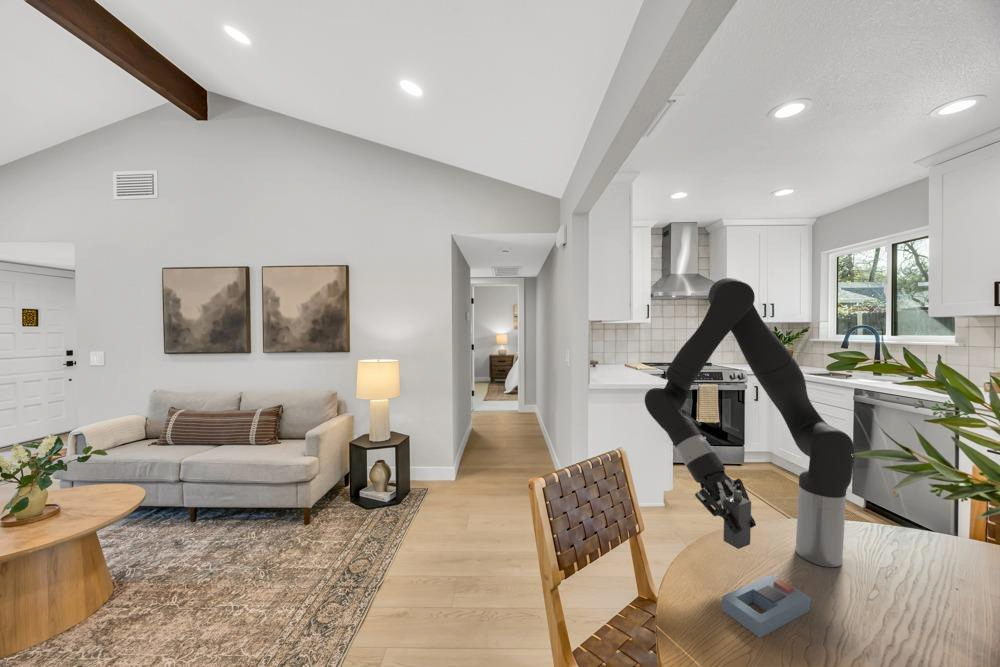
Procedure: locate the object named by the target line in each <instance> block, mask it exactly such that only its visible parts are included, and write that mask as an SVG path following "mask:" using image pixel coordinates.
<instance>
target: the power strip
mask: <svg viewBox="0 0 1000 667" xmlns="http://www.w3.org/2000/svg"><path fill="white" fill-rule="evenodd" d="M811 598H812V597H811V596H810V595H808V594H806V593H805V592H803V591H801V590H799V589H798V588H797V587H794V586H792V585H791V584H789V583H787V582H785V581H784V580H782V579H781V578H779V577H778V576H775V575H774V574H772V573H771V574H768V575H766V576H764V577H761V578H759V579H757V580H755V581H753V582H750V583H748V584H746V585H744V586H742V587H739V588H737V589H736V590H733V591H731V592H728V593H726V594H724V595H722V596H721V611H722V612H724V613H725V614H726V615H728V616H729V617H730V618H732V619H733V620H734V621H736V622H737V623H738V624H740V625H741V626H743V627H744V628H745V629H747V630H748V631H749V632H751V633H752V634H754V635H755V637H758V638H759V639H761V638H763V637H765V636H766V635H769V634H770V633H772V632H774V631H775V630H777V629H779V628H781V627H783V626H785V625H787V624H788V623H790V622H792V621H794V620H797V618H799V617H801V616H803V615H805V614H806V613H809V612H810V611H811V600H812V599H811ZM751 604H755V605H756V606H758V607H759V608H760V609H762V610H763V611H764V612H763V613H760V612H758V611H756V610H755V609H753V608H752V607H751V606H749V605H751Z"/></svg>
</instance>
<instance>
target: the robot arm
mask: <svg viewBox="0 0 1000 667" xmlns="http://www.w3.org/2000/svg"><path fill="white" fill-rule="evenodd" d="M707 296H708V298H707V299H708V303H709V308H708V310H707V312H706V315H705V316H704V318H703V320H702V322H701V323H700V324H699V325H698V328H697V329H696V330H695V332H694V333H692V335H691V337H690V338H689V339H688V340H687V341H686V342H685V343H684V344H683V346H682V347H681V348H680V349H679V350H678V352H677V353H676V356H674V358H673V360H672V362H671V363H670V364H669V366H668V368H667V370H666V372H665V377H666V379H667V382H666V384H665V386H664V388H662V387H661V388H660V387H653V388H650V389H649V390H647V392H646V393H645V396H644V404H645V408H646V411H647V412H648V413H649V415H650V416H651V417H652V418H653V420H655V422H656V423H657V425H659V426H660V427H661V428H662V429H663V430H664V431H665V432H666V433H667V435H668V437H669V439H670V440H671V441H672V444H673V446H674V447H675V449H676V450H677V452H678V455H679V457H680V458H681V460H682V462H683V463H684V465H685V466H686V468H687V469H688V471H689V473H690V475H691V476H692V478H693V479H694V481H695V482H696V483H698V484H700V488H701V489H700V490H698V491H697V492H696V493H694V496H695V497H696V499H697V500H698V501H700V503H701V504H702V505H703V506H704V507H705V508H706V510H707V511H708V512H709V513H710V514H711V515H712V516H713V517H720V518H723V521H724V520H725V522H726V523H727V525H728V527H729V528H730V530H731V531H732V532H733V533H734V534H736V533H739V532H741V531H742V528H741V526H740V524H739V523H738V522H737V520H736V519H735V517H734V515H733V514H730V513H731V511H730V509H729V507H728V505H727V504H726V502H727V501H726V499H727V498H728V497H731V496H734V490H740V491H742V498H745V499H747V500H749V501H751V500H750V497H749V495H748V493H747V491H746V488H745V486H744V483H743V480H742V479H741V478H737V479H731V477H730V476H728V475H727V474H726V467H725V466H724V464H723V462H722V461H721V459H720V457H719V456H718V455H717V454H716V452H715V450H714V449H713V448H712V446H711V445H710V443H709V442H708V441H707V440H706V438H705V437H704V436H703V435H702V433H701V431H700V430H699V429H698V427H697V426H696V423H694V421H692V419H691V418H690V417H688V416H686V415H684V414H682V413H681V410H682V408H683V407H684V406H685V403H686V401H687V398H688V396H689V393H690V390H691V386H692V385H693V384H694V382H695V381H696V379H697V378H698V376H699V375H700V374H701V371H702V370H703V369H704V367H705V366H706V364H707V362H708V361H709V360H710V359H711V357H712V355H713V353H714V352H715V351H716V349H717V348H718V346H719V345H720V344H721V342H722V341H723V340H724V338H725V337H727V335H728V333H729V332H731V333H732V335H733V336H734V338H735V340H736V342H737V345H738V346H739V350H740V351H741V353H742V355H743V356H744V358H745V360H746V363H747V364H748V366H749V368H750V369H751V372H752V373H753V375H754V376H755V378H756V379H757V381H758V382H759V384H760V385H761V387H762V389H763V390H764V392H765V393H766V394H767V396H768V398H769V399H770V400H771V402H772V403H773V404H774V405H775V407H776V409H777V410H778V411H779V413H780V414H781V416H782V418H783V420H784V422H785V424H786V426H787V428H788V430H789V432H790V434H791V437H792V439H793V441H794V443H795V445H796V446H797V447H798V449H799V451H800V452H801V453H803V454H804V455H805V456H806V457H809V464H808V471H802V472H801V473H800V474H799V477H798V492H797V493H798V494H797V496H798V497H797V498H798V499H797V513H796V514H797V515H796V516H797V517H796V518H797V519H796V520H797V521H796V532H795V533H796V535H795V551H796V553H797V554H798V556H800V558H802V559H804V560H806V561H807V562H810V563H812V564H815V565H817V566H822V567H826V568H837V567H841V566H842V564H843V556H844V540H845V538H844V537H845V521H846V505H847V504H846V501H847V489H848V487H849V486H850V485H851V482H852V478H853V469H854V464H855V463H854V462H855V456H854V457H852V456H851V454H853V453H854V454H855V446H854V442H853V440H852V438H851V437H850V436H849V435H848V434H847V433H846V432H844V431H842V430H840V429H838V428H836V427H834V426H832V425H830V424H828V423H827V422H825V420H824V419H823V418H822V417H821V415H820V413H819V412H818V411H817V410H816V409H815V407H814V406H813V404H812V402H811V400H810V398H809V396H808V392H807V383H806V378H805V376H804V373H803V372H802V370H801V368H800V366H799V365H798V363H797V362H796V360H795V358H794V357H793V355H792V353H791V352H790V351H789V349H788V348H787V347H786V346H785V344H784V343H783V342H782V341H781V339H779V337H778V336H777V335H776V334H775V333H774V332H773V331H772V329H771V328H770V327H768V325H767V324H766V323H765V321H764V320H763V318H762V317H761V316H760V314H759V313H758V311H757V309H756V307H755V300H756V299H755V298H756V296H755V291H754V290H753V288H752V286H751V285H750V284H749V283H747V282H745V281H743V280H740V279H737V278H734V277H733V278H731V277H728V278H727V277H726V278H721V279H719V280H717V281H716V282H714V283H713V284H712V286H711V287H710V288H709V291H708V295H707ZM756 525H757V523H756V520H755V519H754V518H753V516H752V515H751V525H750V528H751V529H752V528H754V527H756Z"/></svg>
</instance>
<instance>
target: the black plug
mask: <svg viewBox="0 0 1000 667" xmlns="http://www.w3.org/2000/svg"><path fill="white" fill-rule="evenodd" d="M749 500H750V499H749ZM749 500H747V499H745V498H743V497H742V491H740V490H734V496H731V497H728V498H727V499H726V501H727V502H726V504H727V505H728V507H729V509H730V511H731V513H730V514H733V515H734V517H735V519H736V520H737V522H738V523H739V524H740V526H741V528H742V531H741V532H739V533H736V534H734V533H733V532H732V531H731V530H730V528H729V527H728V525H727V523H726V522H725V520H724V519H723V542H725V543H726V544H728V545H730V546H731V547H734V548H735V549H737V550H740V549H742V548H744V547H748V546H750V545H751V532H752V530H751V529H752V528H750V525H751V516H752V500H750V501H749Z"/></svg>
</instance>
